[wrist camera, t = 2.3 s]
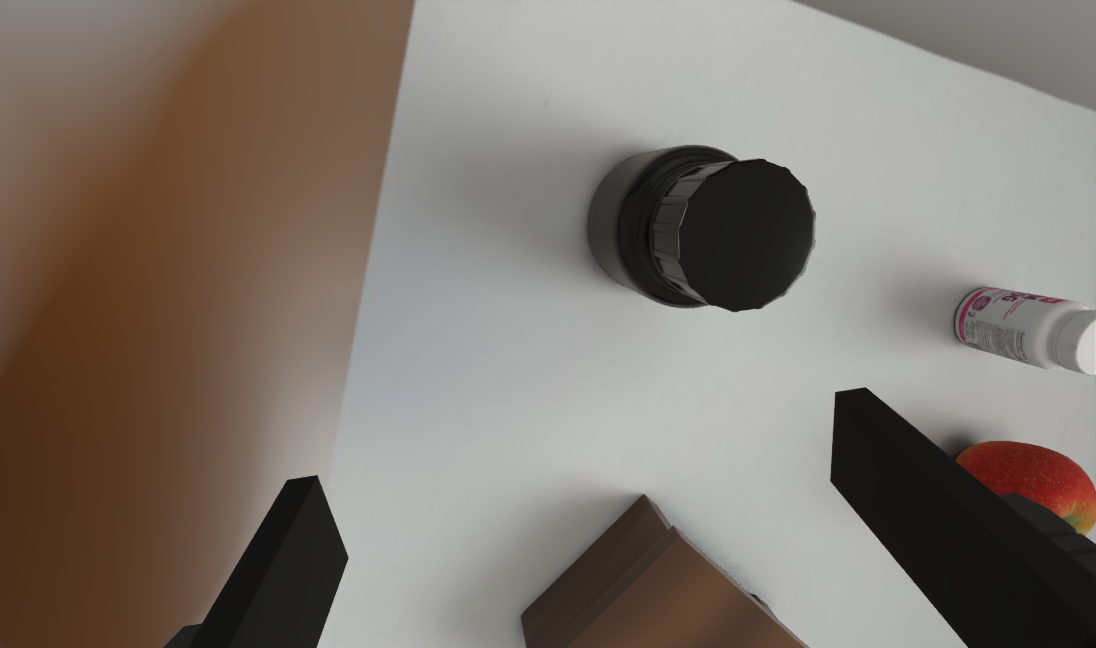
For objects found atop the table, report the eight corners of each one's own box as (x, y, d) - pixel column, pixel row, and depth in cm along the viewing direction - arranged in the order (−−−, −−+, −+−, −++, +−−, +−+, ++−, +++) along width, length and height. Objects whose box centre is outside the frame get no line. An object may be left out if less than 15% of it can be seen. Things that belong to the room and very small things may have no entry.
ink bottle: (677, 314, 38) (779, 367, 27) (561, 267, 36) (617, 303, 24) (739, 180, 37) (874, 174, 25) (622, 122, 34) (712, 87, 23)
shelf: (513, 619, 41) (524, 688, 36) (647, 487, 41) (680, 535, 35) (650, 718, 46) (680, 793, 40) (771, 601, 45) (819, 660, 40)
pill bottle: (998, 275, 42) (1130, 294, 34) (1011, 328, 43) (1140, 359, 35) (945, 304, 42) (1065, 331, 34) (960, 357, 43) (1078, 395, 35)
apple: (1020, 427, 46) (1172, 488, 36) (986, 514, 47) (1123, 596, 38) (941, 415, 44) (1079, 477, 35) (908, 506, 46) (1031, 590, 36)
